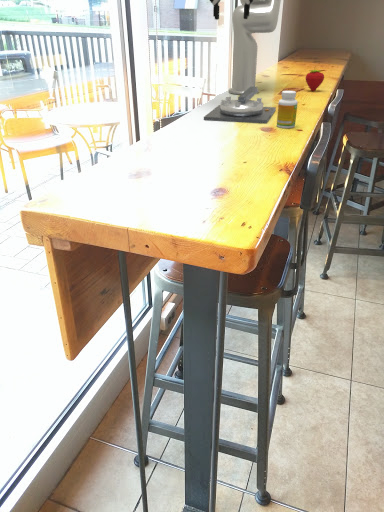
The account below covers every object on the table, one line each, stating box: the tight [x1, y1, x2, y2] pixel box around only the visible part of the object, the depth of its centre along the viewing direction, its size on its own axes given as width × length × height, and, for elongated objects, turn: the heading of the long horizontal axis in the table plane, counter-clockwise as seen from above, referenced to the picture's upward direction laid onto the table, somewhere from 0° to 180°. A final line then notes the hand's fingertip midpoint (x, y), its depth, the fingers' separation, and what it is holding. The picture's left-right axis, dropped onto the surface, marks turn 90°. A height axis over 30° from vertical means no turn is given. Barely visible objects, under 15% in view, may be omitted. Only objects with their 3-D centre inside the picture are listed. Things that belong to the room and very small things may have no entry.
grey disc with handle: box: [219, 86, 264, 116], centre depth 140 cm, size 29×14×4 cm, turn 162°
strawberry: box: [305, 67, 325, 92], centre depth 170 cm, size 6×8×10 cm
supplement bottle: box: [276, 90, 299, 129], centre depth 119 cm, size 5×5×10 cm
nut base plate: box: [203, 104, 277, 124], centre depth 135 cm, size 20×20×1 cm
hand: (231, 19), depth 134 cm, fingers open, 9 cm apart
